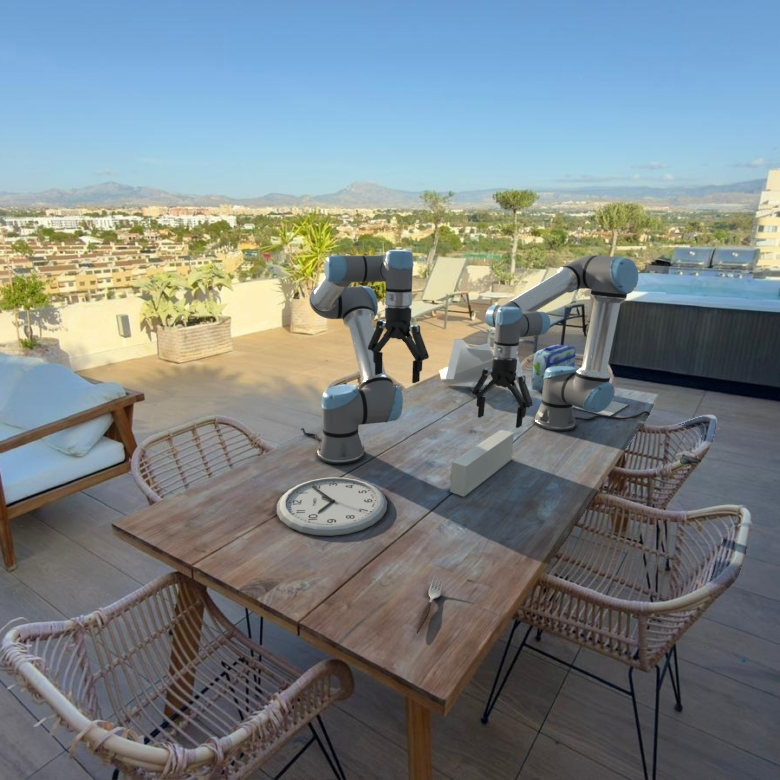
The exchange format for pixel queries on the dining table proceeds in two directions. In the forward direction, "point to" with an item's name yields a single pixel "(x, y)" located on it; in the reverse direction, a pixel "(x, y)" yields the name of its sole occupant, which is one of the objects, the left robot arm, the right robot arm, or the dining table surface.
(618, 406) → the invitation card
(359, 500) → the wall clock
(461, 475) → the bar
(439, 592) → the fork
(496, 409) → the dining table surface
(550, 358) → the lunch box
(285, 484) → the dining table surface
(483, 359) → the white plastic object
